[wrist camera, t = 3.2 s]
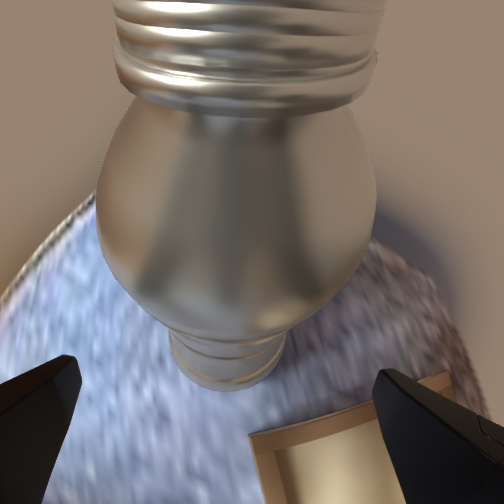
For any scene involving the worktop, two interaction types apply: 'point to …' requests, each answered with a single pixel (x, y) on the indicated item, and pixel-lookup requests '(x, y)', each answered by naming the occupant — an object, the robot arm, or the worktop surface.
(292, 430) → the stand
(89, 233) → the worktop surface
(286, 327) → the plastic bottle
